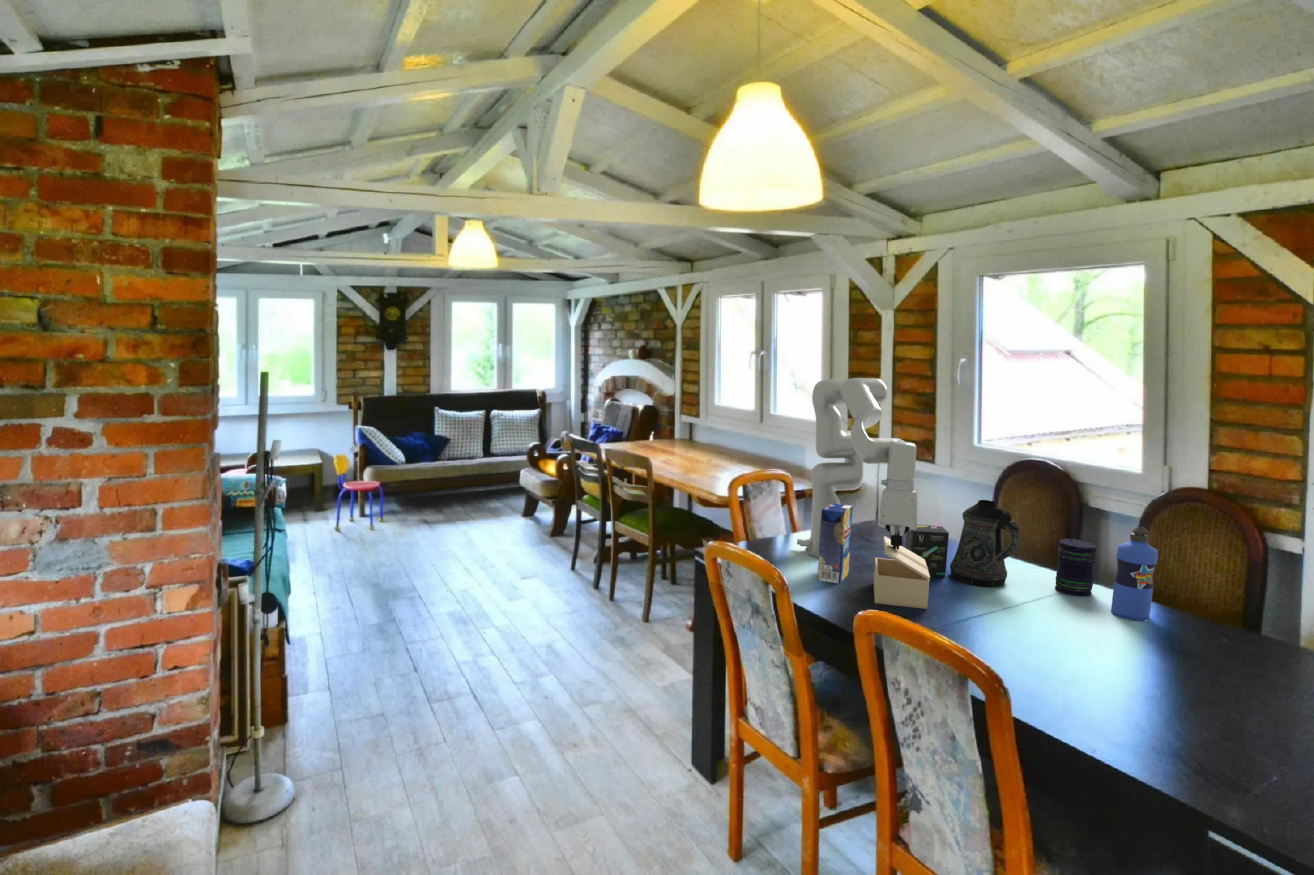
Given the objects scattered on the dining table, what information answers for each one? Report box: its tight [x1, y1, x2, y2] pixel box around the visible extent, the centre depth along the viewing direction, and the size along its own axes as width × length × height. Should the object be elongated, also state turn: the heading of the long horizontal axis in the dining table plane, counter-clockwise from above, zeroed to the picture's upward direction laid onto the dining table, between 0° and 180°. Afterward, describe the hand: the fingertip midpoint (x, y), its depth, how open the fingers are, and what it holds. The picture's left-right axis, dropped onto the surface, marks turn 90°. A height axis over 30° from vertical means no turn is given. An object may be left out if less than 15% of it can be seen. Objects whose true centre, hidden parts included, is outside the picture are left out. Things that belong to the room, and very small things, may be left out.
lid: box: [882, 535, 931, 581], centre depth 215 cm, size 13×18×1 cm
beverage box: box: [817, 503, 854, 584], centre depth 231 cm, size 7×11×22 cm, turn 153°
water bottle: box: [1110, 525, 1159, 622], centre depth 205 cm, size 9×9×25 cm
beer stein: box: [949, 499, 1022, 588], centre depth 232 cm, size 16×19×25 cm
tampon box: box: [905, 524, 950, 578], centre depth 239 cm, size 11×9×15 cm
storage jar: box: [1054, 538, 1098, 598], centre depth 224 cm, size 10×10×15 cm
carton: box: [873, 557, 930, 610], centre depth 217 cm, size 14×18×8 cm
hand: (895, 547), depth 216 cm, fingers closed
